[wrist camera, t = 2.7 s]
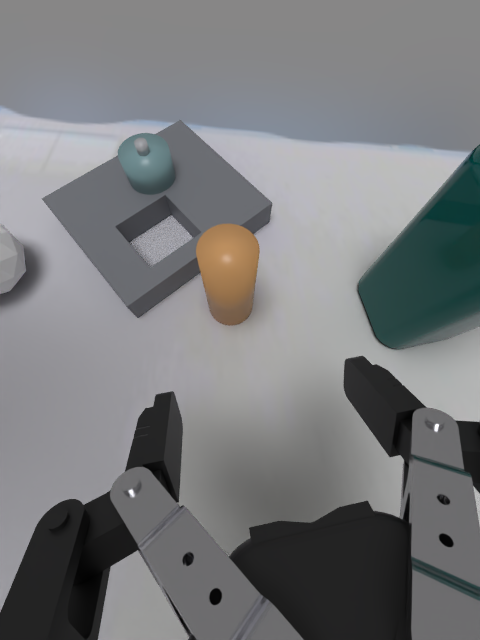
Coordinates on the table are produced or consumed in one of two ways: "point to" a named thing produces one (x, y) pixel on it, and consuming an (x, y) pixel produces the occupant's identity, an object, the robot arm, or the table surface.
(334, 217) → the table surface
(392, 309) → the pitcher
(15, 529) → the table surface
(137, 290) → the block
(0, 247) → the ball
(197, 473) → the table surface
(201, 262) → the orange capsule
